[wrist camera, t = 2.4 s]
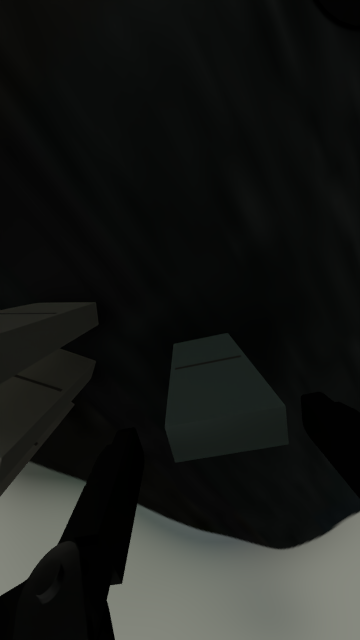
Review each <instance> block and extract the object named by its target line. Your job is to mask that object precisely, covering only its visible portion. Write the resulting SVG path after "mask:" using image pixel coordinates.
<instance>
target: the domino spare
mask: <svg viewBox="0 0 360 640" xmlns="http://www.w3.org/2000/svg"><path fill="white" fill-rule="evenodd" d="M165 430H166V433H167V436H168V440H169V443H170V446H171V450H172V453H173V456H174V460H175V462H182V461H188V460H194V459H200V458H206V457H212V456H219V455H225V454H231V453H237V452H243V451H249V450H256V449H262V448H268V447H274V446H280V445H286V444H289V442H288V430H287V418H286V406H285V405H284V403H283V402H282V401H281V400H280V398H279V397H278V396H277V394H276V393H275V392H274V391H273V389H272V388H271V387H270V386H269V384H268V383H267V382H266V381H265V379H264V378H263V377H262V376H261V374H260V373H259V372H258V370H257V369H256V368H255V367H254V365H253V364H252V363H251V362H250V360H249V359H248V358H247V357H246V355H245V354H244V353H243V352H242V350H241V349H240V348H239V346H238V345H237V344H236V343H235V341H234V340H233V339H232V338H231V336H230V335H229V334H228V333H224V334H220V335H215V336H210V337H205V338H200V339H195V340H190V341H185V342H181V343H176V344H174V345H173V355H172V364H171V373H170V382H169V392H168V401H167V410H166V420H165Z"/></svg>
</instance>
